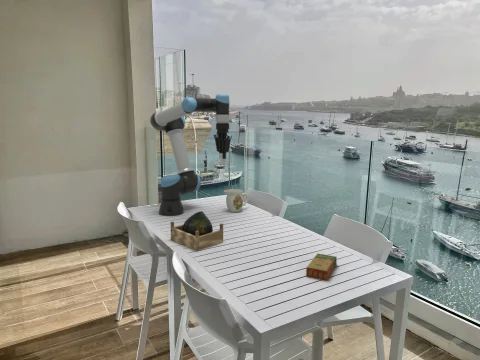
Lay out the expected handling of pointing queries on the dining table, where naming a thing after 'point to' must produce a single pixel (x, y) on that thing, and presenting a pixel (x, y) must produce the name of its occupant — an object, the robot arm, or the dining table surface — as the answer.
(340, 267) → the dining table surface
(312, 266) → the carton
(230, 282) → the dining table surface
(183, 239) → the rack
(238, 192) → the pitcher
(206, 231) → the squash
